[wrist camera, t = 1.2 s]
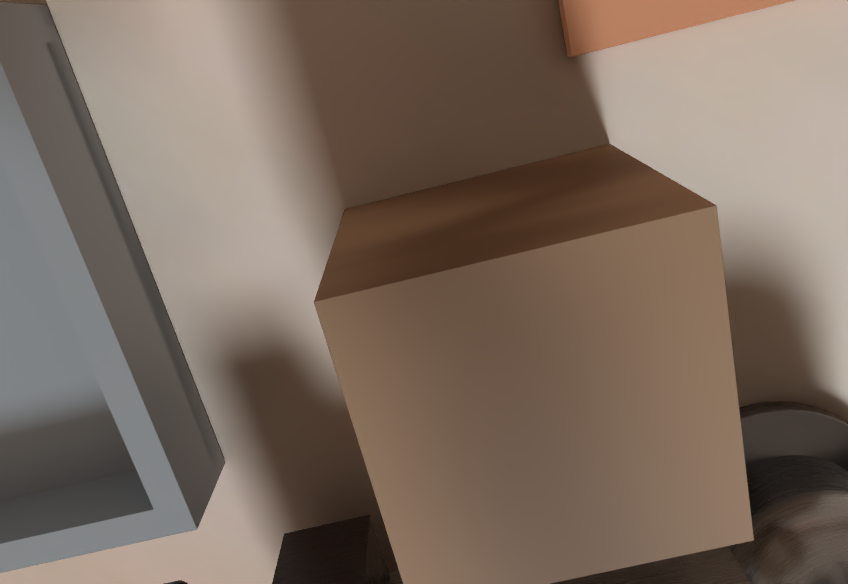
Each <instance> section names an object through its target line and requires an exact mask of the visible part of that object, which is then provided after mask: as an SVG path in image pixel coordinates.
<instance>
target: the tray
mask: <svg viewBox="0 0 848 584" xmlns="http://www.w3.org/2000/svg"><path fill="white" fill-rule="evenodd" d="M224 464H225V460H224V458H223V455H222V453H221V450H220V448H219V445H218V442H217V440H216V437H215V435H214V432H213V430H212V427H211V424H210V422H209V419H208V417H207V414H206V412H205V409H204V407H203V404H202V401H201V399H200V396H199V394H198V391H197V389H196V386H195V383H194V381H193V378H192V376H191V373H190V371H189V368H188V366H187V363H186V360H185V358H184V355H183V353H182V350H181V348H180V345H179V342H178V340H177V337H176V335H175V332H174V330H173V327H172V325H171V322H170V319H169V317H168V314H167V312H166V309H165V307H164V304H163V302H162V299H161V296H160V294H159V291H158V289H157V286H156V284H155V281H154V278H153V276H152V273H151V271H150V268H149V266H148V263H147V261H146V258H145V255H144V253H143V250H142V248H141V245H140V243H139V240H138V237H137V235H136V232H135V230H134V227H133V225H132V222H131V220H130V217H129V214H128V212H127V209H126V207H125V204H124V202H123V199H122V197H121V194H120V191H119V189H118V186H117V184H116V181H115V179H114V176H113V173H112V171H111V168H110V166H109V163H108V161H107V158H106V156H105V153H104V150H103V148H102V145H101V143H100V140H99V138H98V135H97V132H96V130H95V127H94V125H93V122H92V120H91V117H90V115H89V112H88V109H87V107H86V104H85V102H84V99H83V97H82V94H81V91H80V89H79V86H78V84H77V81H76V79H75V76H74V74H73V71H72V68H71V66H70V63H69V61H68V58H67V56H66V53H65V51H64V48H63V45H62V43H61V40H60V38H59V35H58V33H57V30H56V27H55V25H54V22H53V20H52V17H51V15H50V12H49V10H48V7H47V5H41V4H24V3H8V2H0V573H2V572H7V571H11V570H16V569H20V568H25V567H29V566H34V565H38V564H43V563H47V562H52V561H56V560H61V559H65V558H70V557H75V556H79V555H84V554H88V553H93V552H97V551H102V550H106V549H111V548H115V547H120V546H124V545H129V544H133V543H138V542H143V541H147V540H152V539H156V538H161V537H165V536H170V535H174V534H179V533H183V532H188V531H192V530H197V528H198V526H199V524H200V521H201V519H202V517H203V514H204V512H205V509H206V507H207V505H208V502H209V500H210V497H211V495H212V493H213V490H214V488H215V486H216V483H217V481H218V478H219V476H220V474H221V471H222V469H223V467H224Z"/></svg>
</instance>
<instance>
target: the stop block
mask: <svg viewBox="0 0 848 584" xmlns="http://www.w3.org/2000/svg"><path fill="white" fill-rule="evenodd" d="M314 304H315V307H316V310H317V313H318V317H319V320H320V323H321V326H322V329H323V332H324V336H325V339H326V342H327V345H328V348H329V351H330V354H331V358H332V361H333V364H334V367H335V370H336V373H337V377H338V380H339V383H340V386H341V389H342V392H343V395H344V399H345V402H346V405H347V408H348V411H349V414H350V418H351V421H352V424H353V427H354V430H355V433H356V436H357V440H358V443H359V446H360V449H361V452H362V455H363V459H364V462H365V465H366V468H367V471H368V474H369V477H370V481H371V484H372V487H373V490H374V493H375V496H376V499H377V503H378V506H379V509H380V512H381V515H382V518H383V522H384V525H385V528H386V531H387V534H388V537H389V540H390V544H391V547H392V550H393V553H394V556H395V559H396V563H397V566H398V569H399V572H400V575H401V578H402V581H403V584H551V583H555V582H560V581H565V580H569V579H574V578H579V577H584V576H588V575H593V574H598V573H603V572H607V571H612V570H617V569H621V568H626V567H631V566H636V565H640V564H645V563H650V562H654V561H659V560H664V559H669V558H673V557H678V556H683V555H687V554H692V553H697V552H702V551H706V550H711V549H716V548H721V547H725V546H730V545H735V544H739V543H744V542H749V541H754V537H753V528H752V519H751V510H750V501H749V492H748V483H747V474H746V465H745V456H744V447H743V438H742V429H741V421H740V412H739V403H738V394H737V385H736V376H735V367H734V358H733V349H732V340H731V331H730V322H729V313H728V304H727V295H726V286H725V278H724V269H723V260H722V251H721V242H720V233H719V224H718V215H717V206H716V205H715V204H713V203H711V202H709V201H708V200H706V199H704V198H702V197H701V196H699V195H697V194H696V193H694V192H692V191H690V190H689V189H687V188H685V187H683V186H682V185H680V184H678V183H677V182H675V181H673V180H671V179H670V178H668V177H666V176H664V175H663V174H661V173H659V172H658V171H656V170H654V169H652V168H651V167H649V166H647V165H645V164H644V163H642V162H640V161H639V160H637V159H635V158H633V157H632V156H630V155H628V154H626V153H625V152H623V151H621V150H619V149H618V148H616V147H614V146H613V145H611V144H608V145H604V146H600V147H595V148H591V149H587V150H583V151H579V152H575V153H571V154H567V155H563V156H559V157H555V158H551V159H547V160H543V161H539V162H535V163H531V164H527V165H523V166H518V167H514V168H510V169H506V170H502V171H498V172H494V173H490V174H486V175H482V176H478V177H474V178H470V179H466V180H462V181H458V182H454V183H450V184H445V185H441V186H437V187H433V188H429V189H425V190H421V191H417V192H413V193H409V194H405V195H401V196H397V197H393V198H389V199H385V200H381V201H377V202H373V203H368V204H364V205H360V206H356V207H352V208H348V209H345V211H344V214H343V217H342V220H341V223H340V226H339V229H338V232H337V235H336V238H335V241H334V244H333V247H332V250H331V253H330V256H329V259H328V262H327V265H326V268H325V271H324V274H323V277H322V280H321V282H320V285H319V288H318V291H317V294H316V297H315V300H314Z"/></svg>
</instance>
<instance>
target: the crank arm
mask: <svg viewBox="0 0 848 584" xmlns="http://www.w3.org/2000/svg"><path fill="white" fill-rule="evenodd" d="M746 474H747V483H748V492H749V501H750V510H751V519H752V528H753V537H754V541H749V542H744V543H739V544H735V545H730V546H725V547H721V548H716V549H711V550H706V551H702V552H697V553H692V554H687V555H683V556H678V557H673V558H669V559H664V560H659V561H654V562H650V563H645V564H640V565H636V566H631V567H626V568H621V569H617V570H612V571H607V572H603V573H598V574H593V575H588V576H584V577H579V578H574V579H569V580H565V581H560V582H555V583H551V584H848V471H846V470H845V469H843V468H842V467H841V466H839V465H837V464H835V463H833V462H831V461H828V460H825V459H822V458H818V457H813V456H806V455H786V456H779V457H773V458H770V459H766V460H762V461H760V462H757V463H754V464H752V465H750V466H748V467H746ZM272 584H403V581H402V578H401V575H400V572H399V571H398V572H393V573H388V570H387V567H386V564H385V561H384V557H383V554H382V551H381V548H380V545H379V542H378V539H377V536H376V533H375V530H374V526H373V523H372V520H371V517H370V515H368V516H363V517H359V518H354V519H349V520H345V521H340V522H336V523H331V524H327V525H322V526H317V527H313V528H308V529H304V530H299V531H295V532H290V533H285V534H284V537H283V541H282V545H281V549H280V554H279V558H278V562H277V566H276V570H275V574H274V578H273V582H272Z"/></svg>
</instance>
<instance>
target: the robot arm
mask: <svg viewBox="0 0 848 584" xmlns="http://www.w3.org/2000/svg"><path fill="white" fill-rule="evenodd" d="M165 584H188V583H186V582H184V581H174V582H170V583H165Z"/></svg>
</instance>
